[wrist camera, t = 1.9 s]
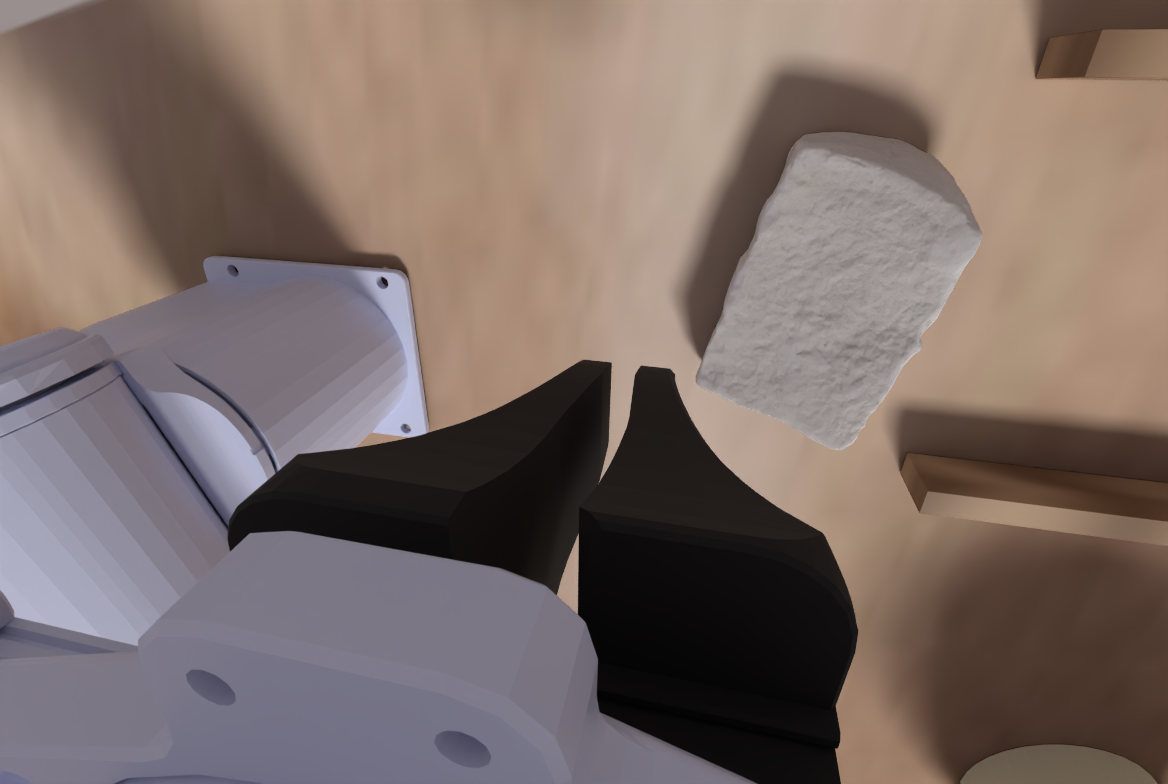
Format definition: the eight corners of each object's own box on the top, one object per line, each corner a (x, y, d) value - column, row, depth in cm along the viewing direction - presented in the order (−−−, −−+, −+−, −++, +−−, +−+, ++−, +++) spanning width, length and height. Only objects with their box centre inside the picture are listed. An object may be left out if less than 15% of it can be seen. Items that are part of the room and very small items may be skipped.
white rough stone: (809, 142, 21) (813, 76, 16) (982, 199, 19) (1052, 145, 14) (697, 376, 23) (667, 386, 18) (843, 446, 22) (859, 480, 16)
